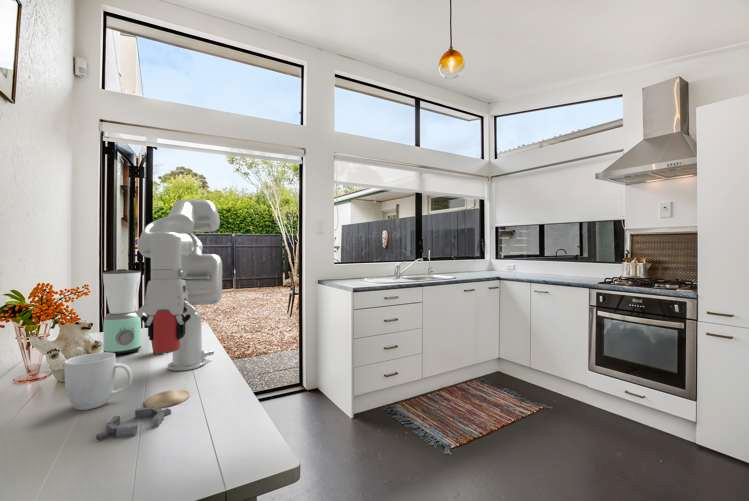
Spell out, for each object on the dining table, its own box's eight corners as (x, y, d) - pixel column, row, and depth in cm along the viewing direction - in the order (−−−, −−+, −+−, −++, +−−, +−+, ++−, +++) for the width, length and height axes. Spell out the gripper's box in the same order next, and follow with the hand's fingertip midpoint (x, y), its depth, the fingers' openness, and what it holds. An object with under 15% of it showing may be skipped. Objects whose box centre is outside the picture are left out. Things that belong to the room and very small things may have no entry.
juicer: (146, 353, 148) (145, 269, 148) (106, 360, 139) (105, 270, 139) (136, 344, 162) (135, 268, 162) (99, 350, 153) (98, 269, 153)
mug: (135, 391, 107) (134, 348, 107) (128, 406, 97) (128, 358, 97) (72, 401, 100) (71, 355, 100) (58, 417, 90) (57, 366, 90)
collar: (159, 408, 95) (158, 400, 95) (180, 417, 90) (180, 409, 90) (88, 433, 82) (88, 425, 82) (107, 446, 76) (107, 437, 76)
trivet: (176, 389, 108) (176, 387, 108) (197, 396, 102) (197, 394, 102) (136, 402, 99) (136, 400, 99) (157, 411, 93) (157, 409, 93)
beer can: (152, 355, 96) (152, 311, 96) (154, 349, 102) (153, 307, 102) (180, 351, 100) (180, 309, 100) (180, 346, 105) (179, 305, 105)
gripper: (203, 274, 106) (203, 334, 106) (140, 275, 103) (141, 336, 103) (193, 275, 98) (194, 340, 98) (125, 277, 96) (126, 343, 96)
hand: (167, 337), depth 101 cm, fingers closed on beer can, 6 cm apart
